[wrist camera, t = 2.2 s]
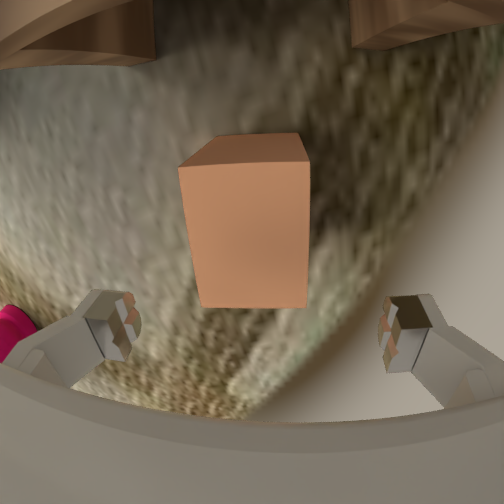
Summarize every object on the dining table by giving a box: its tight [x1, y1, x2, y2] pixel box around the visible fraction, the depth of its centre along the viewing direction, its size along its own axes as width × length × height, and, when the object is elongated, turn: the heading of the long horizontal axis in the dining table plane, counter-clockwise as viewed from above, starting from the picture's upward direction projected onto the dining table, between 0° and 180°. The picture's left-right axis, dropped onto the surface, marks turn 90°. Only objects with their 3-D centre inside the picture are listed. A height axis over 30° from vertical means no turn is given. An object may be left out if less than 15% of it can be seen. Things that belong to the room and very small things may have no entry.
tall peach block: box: [178, 133, 310, 308], centre depth 16 cm, size 5×7×8 cm
